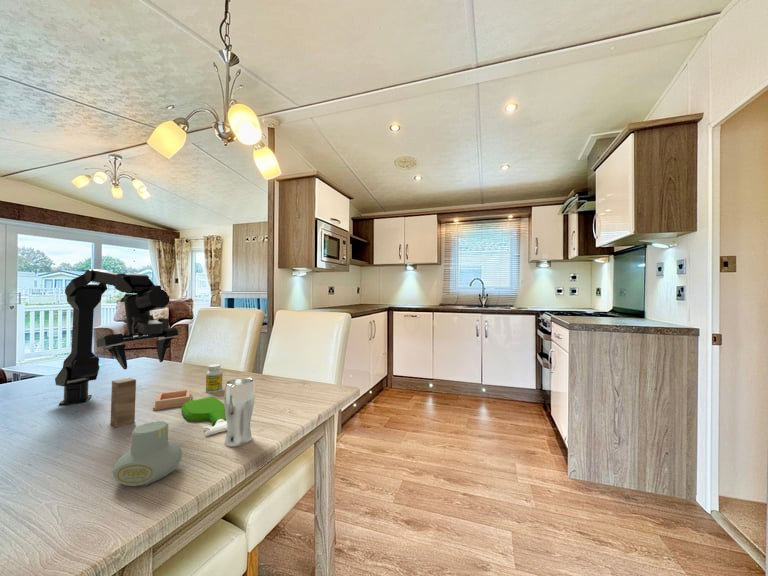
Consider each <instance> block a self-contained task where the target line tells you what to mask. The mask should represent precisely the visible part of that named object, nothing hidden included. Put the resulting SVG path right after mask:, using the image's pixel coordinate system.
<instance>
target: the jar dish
mask: <svg viewBox="0 0 768 576" xmlns="http://www.w3.org/2000/svg"><path fill="white" fill-rule="evenodd" d="M192 396H193V393H191V388H190V389H189V388H188V389H181V390H174V391H167V392H166V391H165V392H160V393H159V392H158V394H157V397H156V400H155V401H154V404H153V407H152V411H156V410H157V411H158V410H165V409H171V408H177V407H178V408H179V407H182V406H183V405H184V404H185V402H188V401H192Z"/></svg>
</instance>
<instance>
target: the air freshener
mask: <svg viewBox="0 0 768 576" xmlns="http://www.w3.org/2000/svg"><path fill="white" fill-rule="evenodd" d="M130 443H131V444H130V445H131V446H130V449H129V450H128V451H126V452H125V453H124V454H123V455H122V456H120V458H119V459H118V460H117V461H116V462H115V464H114V467H113V470H112V475H113V478H114V479H115V481H116V482H118V483H119V484H121V485H125V486H131V487H132V486H133V487H143V486H146V484H147V485H150V484H152V483H155V482H156V481H159V480H161V479H163V478H164V477H166V476H168V475H169V474H171V472H173V471H174V470H175V469H176V468H177V467H178V465H179V464H180V462H181V461H182V456H183V450H182V447H181V446H180V445H179V444H177V443H176V442H174V441H171V440H169V423H167V422H166V421H163V420H162V421H161V420H159V421H151V422H150V421H149V422H147V423H144V424H141V425H138V426H137V427H135V428H133V429H132V431H131V441H130ZM142 485H143V486H142Z"/></svg>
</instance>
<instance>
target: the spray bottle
mask: <svg viewBox="0 0 768 576" xmlns="http://www.w3.org/2000/svg"><path fill="white" fill-rule="evenodd" d="M181 413H182V415H183V417H184V419H186V420H187V421H189V422H210V423H211V426H202V430H203V429H204V430H206V431H204V436H205V437H207V436H212V435H216V434H219V433H222V432H225V431H227V422H226V416H225V409H224V402H223V401H221V400H220V399H219V398H217V397H214V396H208V397H203V398H198V399H195V400H191V401H188V402H185V404H184V405H183V406H181Z"/></svg>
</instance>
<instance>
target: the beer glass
mask: <svg viewBox="0 0 768 576" xmlns="http://www.w3.org/2000/svg"><path fill="white" fill-rule="evenodd" d="M255 391H256V390H255V379H254V378H251V377H237V378H232V379H229V380H227V381H226V382H225V385H224V393H223V394H224V395H223V404H224V409H225V416H226V422H227V430H226V436H225V439H224V445H225V446H227V447H229V448H236V447H242V446H244V445H247V444H249V442H251V441H252V439H253V438H252V436H253V435H252V431H251V422H252V415H253V411H254V406H255V399H256V398H255Z"/></svg>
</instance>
